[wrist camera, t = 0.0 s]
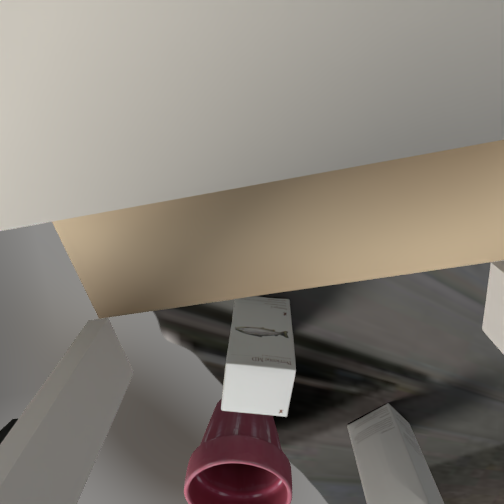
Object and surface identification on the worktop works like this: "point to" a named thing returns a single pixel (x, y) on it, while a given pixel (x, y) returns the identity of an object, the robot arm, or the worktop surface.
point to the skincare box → (391, 460)
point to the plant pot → (239, 462)
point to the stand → (294, 233)
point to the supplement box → (260, 358)
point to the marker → (231, 94)
